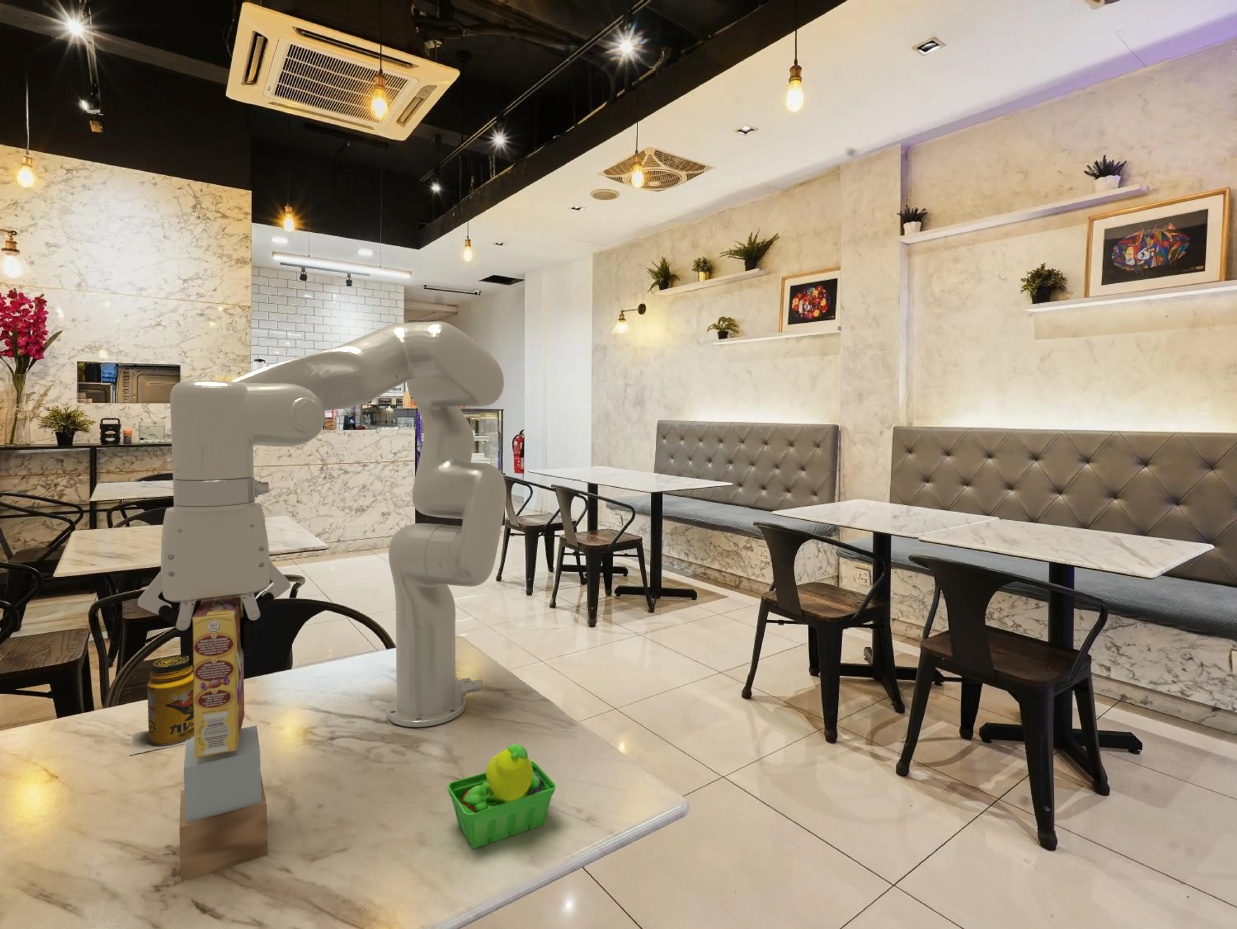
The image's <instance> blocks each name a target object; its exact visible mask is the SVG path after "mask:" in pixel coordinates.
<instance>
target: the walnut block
mask: <svg viewBox="0 0 1237 929" xmlns="http://www.w3.org/2000/svg"><path fill="white" fill-rule="evenodd" d="M179 807H180V808H179V856H180V857H179V858H180V859H179V862H180V882H182V881H183V882H185V881H184V880H186V881H188V879H189V880H192V879H195V878H198V877H201V876H205V875H207V874H210V873H215V872H217V871H220V870H223V869H226V868H230V867H232V866H235V865H238V864H242V863H246V862H249V861H251V860H255V859H259V858H262V857H265V856H268V855H269V854H268V853H269V852H268V851H269V850H268V811H267V809H268V808H267V807H268V805H267V799H266V793H265V789H264V782H263V777H262V776H261V803H259V804H255V805H252V806H248V807H244V808H240V809H237V810H233V811H229V812H225V813H222V814H218V815H214V816H210V817H207V818H203V819H199V820H195V821H192V822H188V823H186V822H185V790H184V789H183V790H180V801H179ZM191 878H192V879H191Z"/></svg>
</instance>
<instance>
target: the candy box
mask: <svg viewBox="0 0 1237 929" xmlns="http://www.w3.org/2000/svg"><path fill="white" fill-rule="evenodd" d="M243 615H244V614H243V600H242V597H241V596H233V597H225V598H217V599H208V600H201V602H200V604H199V606H198V607H197V609H196V612H195V613H194V614H193V615H192V620H193V665H192V668H193V670H192V672H193V684H194V757H204V756H209V755H215V754H221V753H227V752H232V751H236V750H237V747H238V741H239V736H240V732H241V728H243V722H244V719H245V683H244V682H245V681H244V678H245V676H244V674H245V673H244V672H245V671H244V654H243V650H242V620H241V617H243Z"/></svg>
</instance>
